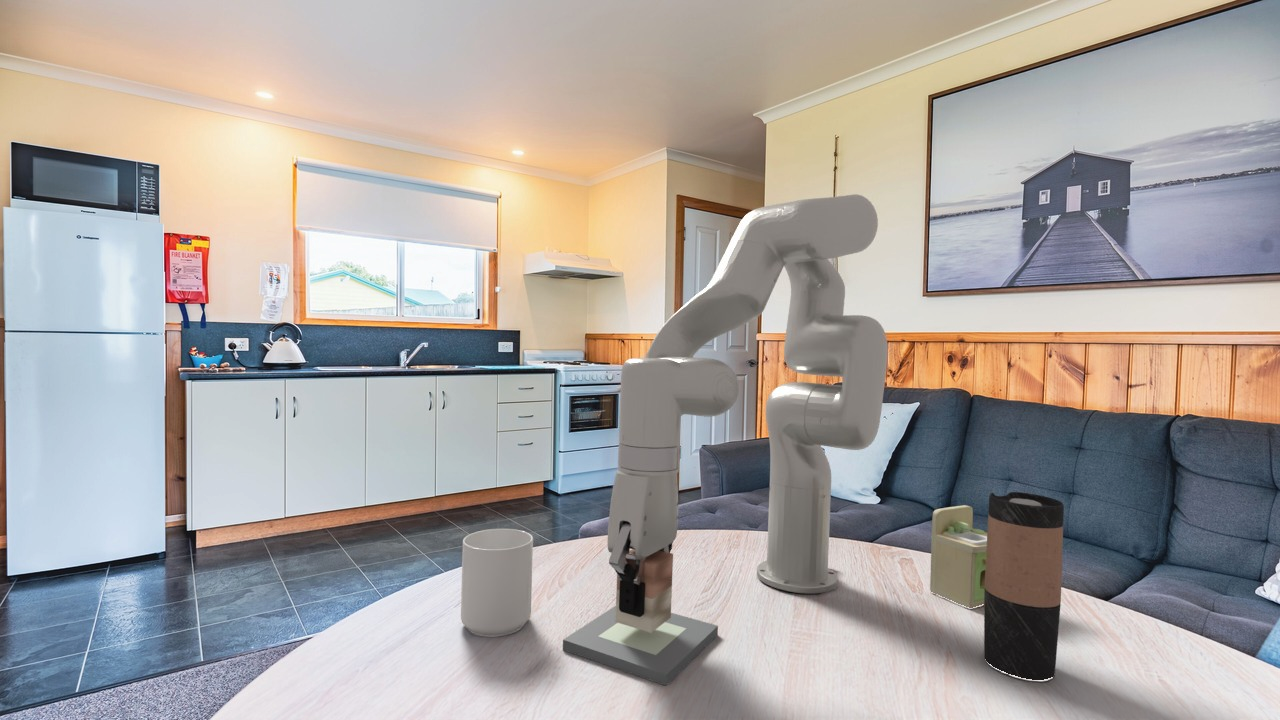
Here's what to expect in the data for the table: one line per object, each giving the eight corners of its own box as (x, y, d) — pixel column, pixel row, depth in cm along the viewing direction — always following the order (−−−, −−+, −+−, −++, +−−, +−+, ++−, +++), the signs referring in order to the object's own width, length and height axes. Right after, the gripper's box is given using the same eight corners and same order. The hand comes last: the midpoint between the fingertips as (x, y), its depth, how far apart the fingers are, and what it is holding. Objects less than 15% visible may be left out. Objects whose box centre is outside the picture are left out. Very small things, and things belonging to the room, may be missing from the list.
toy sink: (973, 612, 87) (977, 521, 87) (928, 593, 94) (932, 508, 93) (1010, 603, 91) (1014, 516, 91) (965, 585, 97) (968, 504, 97)
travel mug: (1059, 691, 67) (1067, 510, 66) (979, 670, 71) (986, 499, 70) (1055, 662, 73) (1063, 497, 73) (983, 644, 77) (989, 488, 77)
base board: (624, 608, 85) (624, 599, 85) (717, 635, 78) (717, 625, 78) (562, 649, 73) (563, 639, 73) (666, 685, 65) (666, 674, 65)
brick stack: (636, 607, 78) (638, 546, 78) (670, 617, 76) (673, 553, 76) (615, 621, 74) (617, 556, 74) (651, 632, 71) (653, 565, 71)
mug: (520, 642, 74) (522, 551, 74) (449, 637, 75) (451, 547, 75) (543, 601, 86) (545, 523, 86) (482, 598, 87) (484, 520, 86)
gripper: (655, 446, 84) (650, 577, 84) (583, 464, 69) (577, 623, 69) (705, 453, 80) (700, 590, 80) (639, 473, 65) (634, 640, 66)
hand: (643, 603), depth 75 cm, fingers closed on brick stack, 5 cm apart
